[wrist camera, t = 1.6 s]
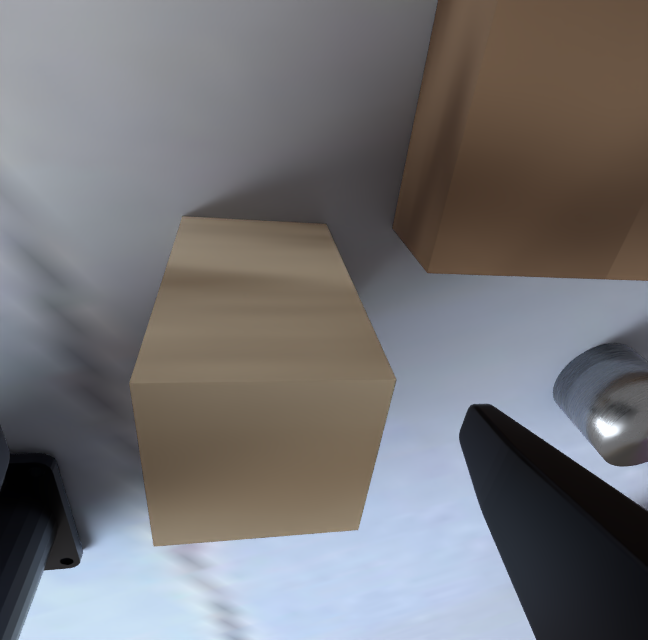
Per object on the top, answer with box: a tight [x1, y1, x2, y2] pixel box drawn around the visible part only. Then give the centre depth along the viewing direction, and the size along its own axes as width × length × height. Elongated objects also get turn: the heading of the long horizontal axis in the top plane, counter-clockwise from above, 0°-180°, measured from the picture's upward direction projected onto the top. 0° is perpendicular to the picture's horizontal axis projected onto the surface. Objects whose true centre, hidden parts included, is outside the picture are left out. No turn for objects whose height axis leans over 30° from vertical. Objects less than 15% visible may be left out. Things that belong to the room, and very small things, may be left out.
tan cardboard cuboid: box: [129, 216, 396, 546], centre depth 11 cm, size 4×4×7 cm
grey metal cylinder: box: [553, 343, 648, 466], centre depth 17 cm, size 4×4×3 cm
